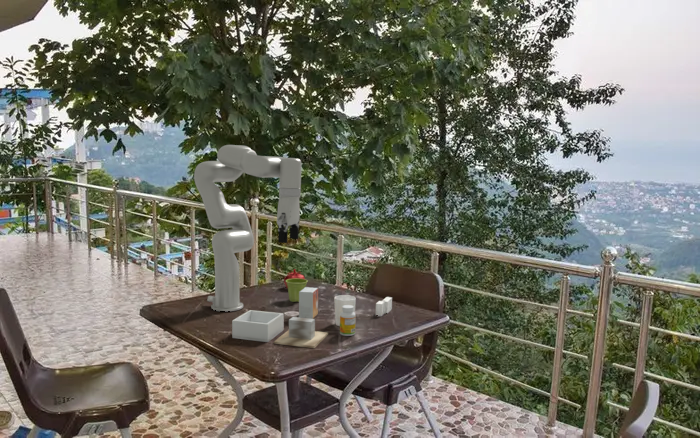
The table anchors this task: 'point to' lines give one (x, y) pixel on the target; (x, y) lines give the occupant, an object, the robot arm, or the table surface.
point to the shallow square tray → (258, 325)
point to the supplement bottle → (347, 321)
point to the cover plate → (301, 341)
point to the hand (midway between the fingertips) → (288, 240)
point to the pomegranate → (293, 276)
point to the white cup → (340, 302)
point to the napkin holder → (383, 306)
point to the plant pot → (295, 288)
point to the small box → (308, 302)
